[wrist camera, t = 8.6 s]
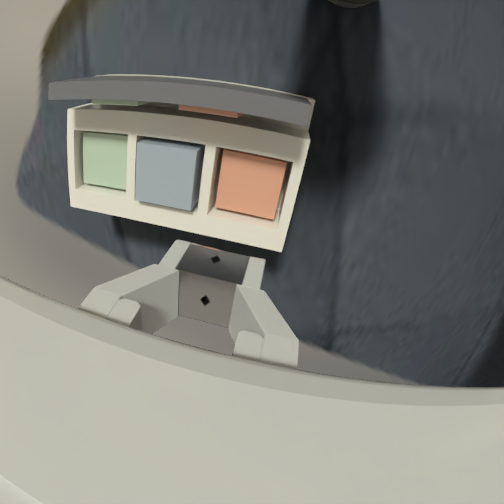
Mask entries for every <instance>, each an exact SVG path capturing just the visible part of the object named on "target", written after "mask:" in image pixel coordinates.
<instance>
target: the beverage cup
mask: <svg viewBox="0 0 504 504" xmlns="http://www.w3.org/2000/svg"><path fill="white" fill-rule="evenodd" d="M328 1H330V2H332V3H333V4H335V5H338V6H342V7H346V8H358V7H361V6H365V5H367V4H369V3H373V2H375V1H377V0H328Z"/></svg>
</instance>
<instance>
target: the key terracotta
mask: <svg viewBox="0 0 504 504" xmlns="http://www.w3.org/2000/svg"><path fill="white" fill-rule="evenodd" d="M286 165H287V161H286V160H281V159H277V158H272V157H267V156H263V155H258V154H253V153H248V152H243V151H238V150H232V149H227V148H225V149H224V150H223V156H222V163H221V170H220V176H219V183H218V190H217V197H216V205H215V207H217V208H222V209H227V210H232V211H236V212H241V213H246V214H250V215H255V216H259V217H264V218H268V219H273V220H274V217H275V212H276V208H277V204H278V200H279V195H280V191H281V187H282V182H283V178H284V174H285V169H286Z"/></svg>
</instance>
